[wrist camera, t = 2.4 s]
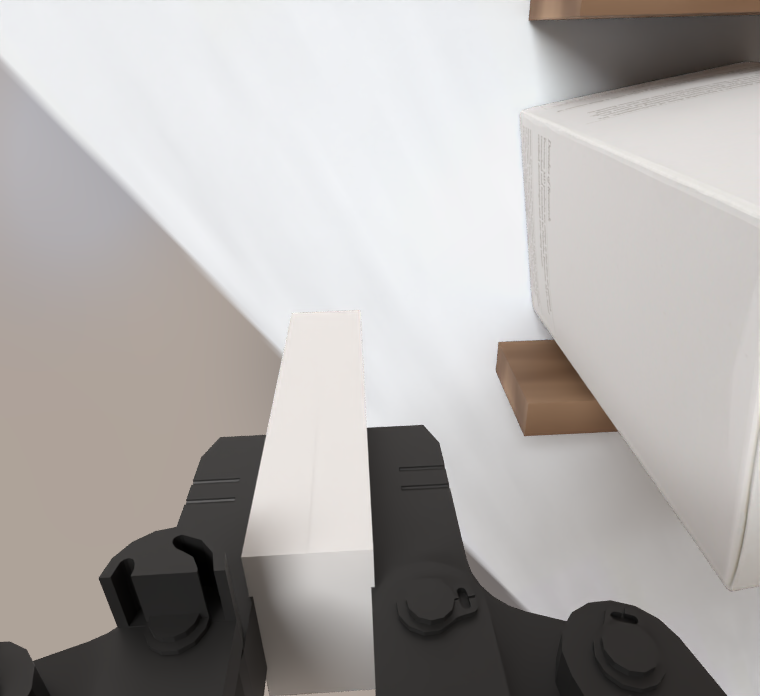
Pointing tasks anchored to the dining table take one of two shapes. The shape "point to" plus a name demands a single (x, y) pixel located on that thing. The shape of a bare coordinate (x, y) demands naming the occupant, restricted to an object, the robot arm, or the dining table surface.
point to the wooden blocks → (544, 357)
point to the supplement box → (661, 284)
